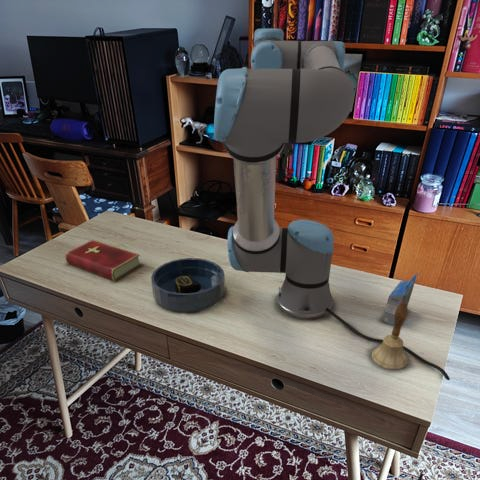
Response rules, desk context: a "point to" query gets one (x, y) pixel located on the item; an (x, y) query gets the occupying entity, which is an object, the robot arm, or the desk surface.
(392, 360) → the hand bell
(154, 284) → the bowl
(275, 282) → the desk surface
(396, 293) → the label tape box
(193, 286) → the tape measure
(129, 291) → the desk surface
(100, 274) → the hardcover book
